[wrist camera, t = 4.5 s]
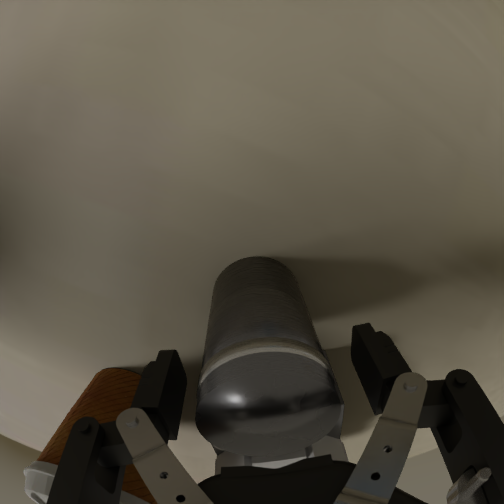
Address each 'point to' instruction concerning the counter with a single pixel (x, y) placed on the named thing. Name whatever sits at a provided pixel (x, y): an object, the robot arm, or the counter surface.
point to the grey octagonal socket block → (319, 448)
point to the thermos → (263, 365)
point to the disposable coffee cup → (103, 410)
